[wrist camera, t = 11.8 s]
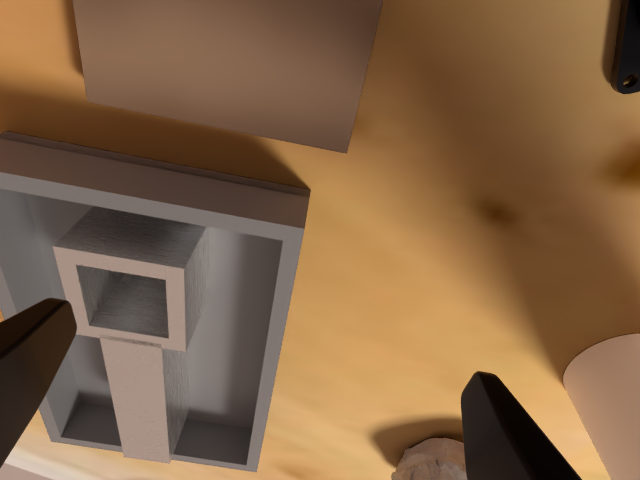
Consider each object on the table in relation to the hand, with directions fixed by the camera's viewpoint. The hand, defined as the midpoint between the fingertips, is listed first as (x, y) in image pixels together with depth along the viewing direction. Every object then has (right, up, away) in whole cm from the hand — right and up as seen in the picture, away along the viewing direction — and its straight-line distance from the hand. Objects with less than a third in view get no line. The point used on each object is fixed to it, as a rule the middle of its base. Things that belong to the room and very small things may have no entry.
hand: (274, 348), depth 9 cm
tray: (-9, -2, +17) cm, 19 cm away
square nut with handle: (-9, -3, +16) cm, 18 cm away
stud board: (-1, +17, +2) cm, 18 cm away
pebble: (+11, -15, +24) cm, 31 cm away
